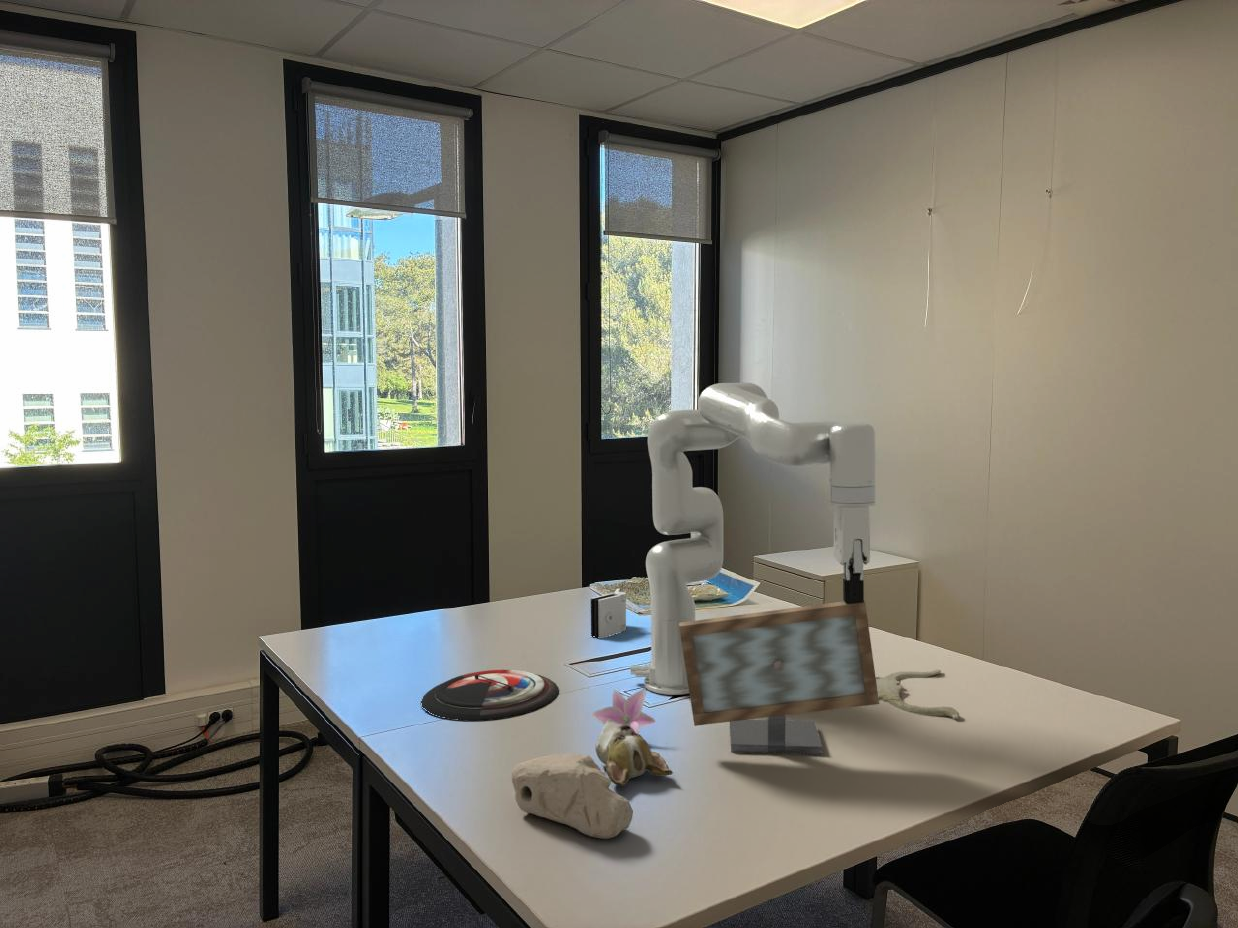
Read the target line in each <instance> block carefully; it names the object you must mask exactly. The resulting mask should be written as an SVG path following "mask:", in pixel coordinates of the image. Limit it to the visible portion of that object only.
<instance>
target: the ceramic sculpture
mask: <svg viewBox="0 0 1238 928" xmlns="http://www.w3.org/2000/svg"><path fill="white" fill-rule="evenodd" d="M594 749H595V753H596V755H597V759H599V761H600V762H601V763H603V764H604V765H605V767H604V768H605V771H606V775H607V777H608V778H609V779H611V783H612V784H614V785H616V786H618V787H624V786H625V785H626V784H627V783H628V781H629V780H630V779H632V778H638V777H640V776H642V775H643V774H644V773H645V772H646V771H649V773H651V774H652V775H653V776H657V777H665V776H672V775H673V774H674V772H673V771H672V770H671V769H670V767H669V766H668V764H667V762H666V761H667V760H665V758H664V757H662V756H661V755H660V753H658V752H656V751H652V750H651V748H650V746H649V745H648V742H647V740H646V739H644V738H643V737H642V735H640V733H639V734H637V733H635V731H634V729H633V728H632V727H630V726H628V725H624V726H622V725H621V724H618V723H616V722H613V721H612V720H611V719H608V720H607V721H606V724H605V725H604V724H603V727H602V728H601V731H600V733H599V735H598V739H597V742H596V744H595V747H594Z"/></svg>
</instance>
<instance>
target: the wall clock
mask: <svg viewBox="0 0 1238 928" xmlns="http://www.w3.org/2000/svg"><path fill="white" fill-rule="evenodd" d="M558 694H559V686H558V685H557V683H555V682H554V681H553V680H551V679H550V678H548V677H545V676H543V675H540V674H537V673H532V672H529V671H524V670H518V669H488V670H480V671H475V672H469V673H465V674H462V675H458V676H456V677H453V678H450V679H449V680H446V681H443V682H442V683H440V684H438V685H436V686H434V687H433V688H431V689H430V690H428V691H427V692H426V693H425V694H424V695H423V696H422V697H423V699H422V698H421V699H422V701H421V700H420V702H421V703H422V707H423V708H425V709H426V710H427V711H429V712H430V713H432V714H434V715H437V716H440V717H445V718H449V719H448V720H450V719H458V720H457V721H459V720H484V721H491V720H490V719H495V720H499V719H498V718H502V719H505V718H504V717H508V718H511V717H510V716H512V717H516V716H515V715H517V716H521V715H524V714H523V713H525V714H528V713H531V712H534V711H536V710H538V709H540V708H543V707H544V706H546V705H547V704H549V703H551V702H552V701H554V700H555V699H556V698H557V697H558ZM421 703H420V704H421ZM422 707H421V708H422ZM423 708H422V709H423ZM533 710H534V711H533ZM530 711H531V712H530ZM527 712H528V713H527ZM520 714H521V715H520ZM440 717H439V718H440Z"/></svg>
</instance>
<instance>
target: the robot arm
mask: <svg viewBox="0 0 1238 928" xmlns="http://www.w3.org/2000/svg"><path fill="white" fill-rule="evenodd" d="M697 402H698V403H697V408H698V409H677V410H672V411H667V412H664V413H662V414H660V415H658V416H657V417H656V418H655V419H654V420H653V421H652V424H651V425H650V427H649V430H648V434H647V447H648V456H649V460H650V465H651V474H652V475H651V476H652V477H651V479H652V480H651V482H652V483H651V489H652V491H651V493H652V496H651V498H652V521H653V526H654V528H655V529H656V531H657V532H658V533H660V534H662V535H667V536H672V535H673V536H674V535H683V534H690V538H689V537H688V538H681V539H674V540H673V539H672V540H668V541H663V542H660V543H657V544H656V545H654V546H653V547H651V549H649V551H648V552H647V555H646V559H645V568H646V569H645V570H646V574H647V578H648V585H649V594H650V596H649V597H650V635H651V636H650V641H651V642H650V645H651V646H650V650H651V651H650V652H651V654H650V656H651V657H650V659H651V660H650V662H649V664H645V666H644V665H631V666H630V675H635V678H644V681H643V685H644V688H645V689H646V690H648V691H650V692H651V693H652V692H653V693H655V694H659V695H660V694H661V695H669V696H672V695H673V696H679V695H680V696H681V695H687V694H689V687H688V681H687V675H686V668H685V662H684V655H683V649H682V642H681V636H680V629H679V623H681V622H689V621H696V604H695V600H694V597H693V595H692V594H691V592H690V591H689V589H688V584H692V583H697V582H702V581H708V580H711V579H713V578H715V577H717V576H718V575H719V573H721V571H722V568H723V563H724V509H723V506H722V501H721V499H720V498H719V496H718V495H717V494H716V492H715V491H714V490H713V489H711V488H708V487H703V486H699V487H698V486H697V487H693V469H692V466H691V463H690V462H689V459H688V457H687V456H686V454H685V453H684V452H689V451H691V452H692V451H706V450H719V449H723V448H726V447H727V446H729V445H731V444H733V443H734V442H736V441H737V440H738V439H739V438H743V439H746V440H747V441H748V443H749V445H750V446H751V448H752V450H753V451H754V452H755V453H756V454H757V455H760V456H762V457H763V458H766V459H769V460H771V461H773V462H775V463H778V464H780V465H783V466H789V467H796V468H797V467H804V466H814V465H815V466H816V465H817V466H819V465H828V464H829V505H830V506H833V507H834V516H833V517H834V518H833V519H834V520H833V557H834V559H836V561H837V562H838V563H839V564H840V565H841V566H843V579H842V588H843V589H842V599H843V600H842V601H844V602H845V603H846V604H854V603H862V602H864V601H865V597H864V596H865V592H864V591H865V588H864V587H865V586H864V585H865V583H864V581H865V580H864V565H865V566H866V565H868V564H869V563H870V560H871V559H870V558H871V522H870V521H871V520H870V507H873V506H875V505H876V502H877V501H876V431H875V428H874V427H873V426H872V425H871V424H869V423H865V422H864V423H861V422H859V423H857V422H856V423H855V422H854V423H851V422H850V423H845V422H844V423H842V422H836V421H828V420H827V421H824V420H823V421H808V422H807V421H806V422H805V421H804V422H789V421H785V420H783V419H780V411H779V408H778V405H776V404H777V403H775V402H774V401H773V400H772V399H770V398H768V395H767V394H766V392H765V390H764V389H763V388H762V387H761V386H760V385H757V384H755V383H752V382H721V383H714V384H712V385H709V386H707V387H706V388H705V389H703V391H702V392H701V393H700V395H699V397H698V401H697ZM689 695H690V694H689Z"/></svg>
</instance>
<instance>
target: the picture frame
mask: <svg viewBox="0 0 1238 928" xmlns="http://www.w3.org/2000/svg"><path fill="white" fill-rule="evenodd" d="M867 612H868V611H867V605H866V601H865V600H864V602H862V603H854V604H846V603H845V602H844V600H842V601H836V602H827V603H820V604H813V605H806V606H798V607H790V608H783V609H774V610H773V609H772V610H768V611H767V610H766V611H759V612H752V613H744V614H736V615H735V614H734V615H729V616H721V617H714V618H706V619H698V620H696V619H695V621H689V622H681V623H679V629H680V636H681V642H682V649H683V655H684V662H685V668H686V675H687V681H688V687H689V700H690V706H691V711H692V712H691V713H692V718H693V719H692V720H693V725H694V727H696V726H704V725H706V726H707V725H714V724H721V723H730V722H732V721H740V720H758V719H763V718H768V717H774V716H783V715H785V716H791V715H798V714H806V713H814V712H823V711H832V710H839V709H840V710H841V709H850V708H858V707H866V706H876V705H880V700H879V698H878V691H877V684H876V677H877V676H876V671H875V664H874V656H873V648H872V640H871V634H870V625H869V619H868V613H867Z"/></svg>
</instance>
